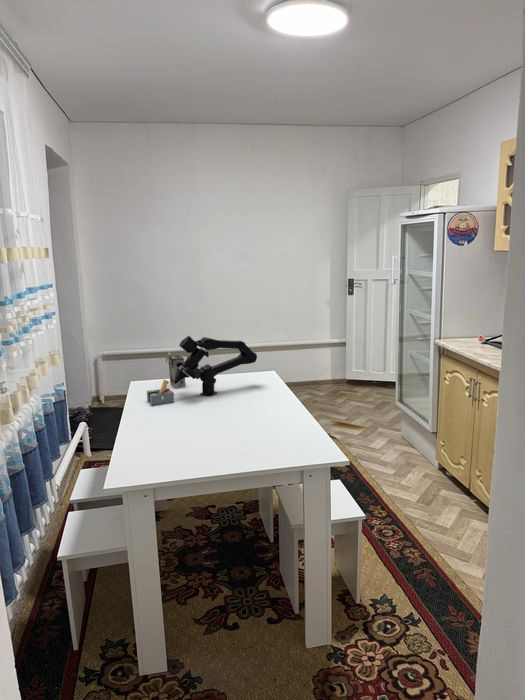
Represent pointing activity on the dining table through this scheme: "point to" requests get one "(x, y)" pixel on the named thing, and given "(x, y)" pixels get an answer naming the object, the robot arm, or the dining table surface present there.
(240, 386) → the dining table surface
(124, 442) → the dining table surface
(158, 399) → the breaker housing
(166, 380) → the breaker handle
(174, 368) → the coffee box
